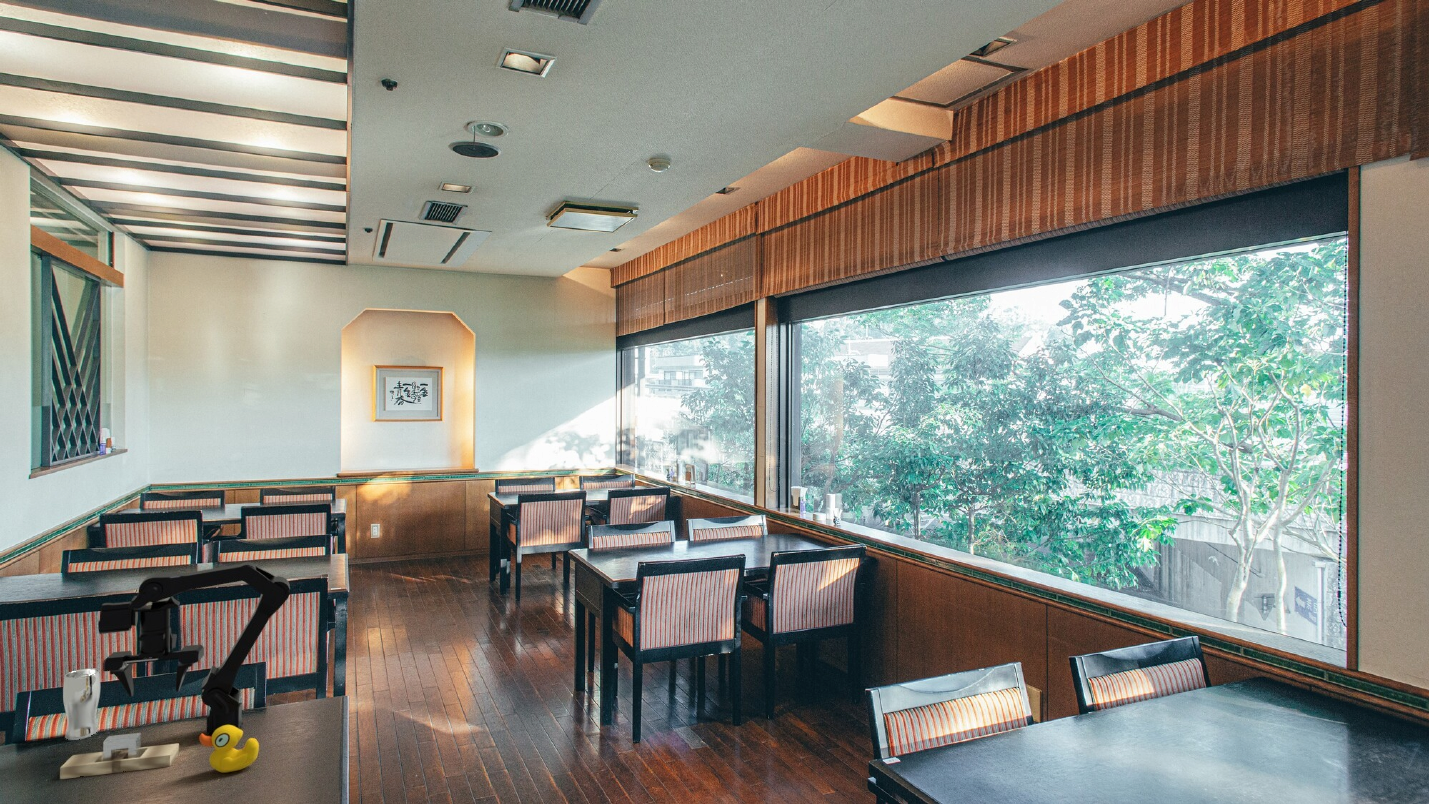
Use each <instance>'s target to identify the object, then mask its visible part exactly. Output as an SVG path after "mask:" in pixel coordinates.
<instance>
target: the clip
mask: <svg viewBox="0 0 1429 804" xmlns="http://www.w3.org/2000/svg"><path fill="white" fill-rule="evenodd" d="M141 735H142V734H141V732H134V733H127V734H126V733H125V734H118V735H115V734H114V735H108V736H107V737H106V738H105V740H103V743H102V745H103V746H102V747H103V749H102V750H103V751H102V752H103V762H104V761H113V760H114V759H115V758H116V750H124V749H129V750H128V759H130V758H139V757H140V751H141V747H142V746H141V745H142V744H141V743H142V742H141V740H142V738H141V737H142V736H141Z"/></svg>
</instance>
